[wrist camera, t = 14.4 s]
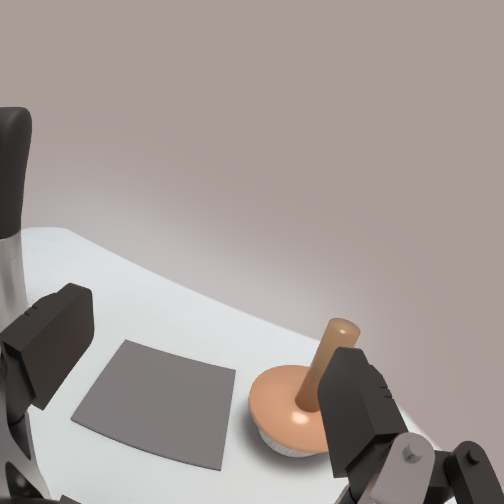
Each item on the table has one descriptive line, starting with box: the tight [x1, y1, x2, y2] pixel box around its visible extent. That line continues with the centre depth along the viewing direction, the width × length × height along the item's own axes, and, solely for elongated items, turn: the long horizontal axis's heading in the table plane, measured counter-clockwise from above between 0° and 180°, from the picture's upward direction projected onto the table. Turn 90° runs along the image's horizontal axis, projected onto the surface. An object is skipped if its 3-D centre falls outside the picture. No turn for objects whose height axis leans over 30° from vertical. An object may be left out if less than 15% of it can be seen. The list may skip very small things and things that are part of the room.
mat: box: [71, 339, 236, 471], centre depth 32 cm, size 18×18×1 cm
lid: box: [248, 318, 360, 453], centre depth 28 cm, size 14×14×12 cm
